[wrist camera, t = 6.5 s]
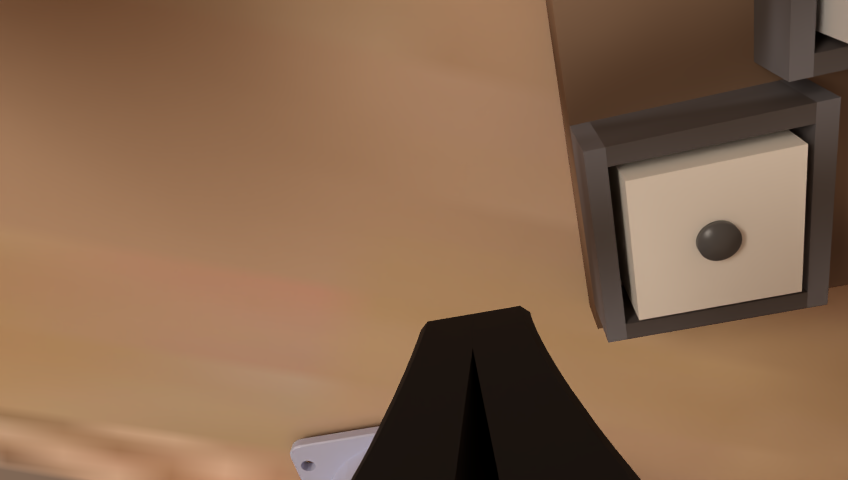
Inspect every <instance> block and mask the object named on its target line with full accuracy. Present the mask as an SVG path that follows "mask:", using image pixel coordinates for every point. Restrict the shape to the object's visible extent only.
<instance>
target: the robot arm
mask: <svg viewBox="0 0 848 480" xmlns="http://www.w3.org/2000/svg"><path fill="white" fill-rule="evenodd" d="M290 456H291V459H292V461H293V463H294V465H295V467H296V469H297V472H298V474H299V476H300V478H301V480H641V479H640V478H639V477H638V476H637V474H636V473H635V472H634V471H633V470H632V468H631V467H630V466H629V465H628V464H627V462H626V461H625V460H624V459H623V457H622V456H621V455H620V454H619V453H618V451H617V450H616V449H615V448H614V446H613V445H612V444H611V443H610V441H609V440H608V439H607V437H606V436H605V435H604V434H603V432H602V431H601V430H600V428H599V427H598V426H597V424H596V423H595V422H594V420H593V419H592V417H591V416H590V415H589V413H588V412H587V410H586V409H585V408H584V406H583V405H582V403H581V402H580V401H579V399H578V398H577V396H576V395H575V394H574V392H573V391H572V390H571V388H570V387H569V385H568V384H567V382H566V380H565V379H564V377H563V376H562V374H561V373H560V371H559V370H558V368H557V366H556V365H555V363H554V361H553V360H552V358H551V356H550V355H549V353H548V351H547V349H546V348H545V346H544V344H543V342H542V340H541V338H540V336H539V334H538V332H537V330H536V328H535V325H534V323H533V320H532V318H531V314H530V312H529V311H527V310H526V309H524V308H523V307H521V306H517V307H511V308H505V309H499V310H493V311H487V312H482V313H476V314H470V315H464V316H458V317H452V318H446V319H440V320H435V321H429V322H427V323H426V324H425V326H424V327H423V328H422V330H421V332H420V335H419V337H418V340H417V343H416V345H415V348H414V351H413V353H412V356H411V358H410V361H409V363H408V365H407V368H406V370H405V372H404V375H403V377H402V379H401V381H400V384H399V386H398V388H397V390H396V393H395V395H394V397H393V399H392V401H391V403H390V405H389V407H388V410H387V412H386V414H385V416H384V418H383V420H382V422H381V424H380V426H377V427H371V428H365V429H359V430H352V431H346V432H340V433H334V434H328V435H322V436H316V437H310V438H304V439H300V440H297V441H295V442H294V443H293V445H292V448H291V452H290ZM306 461H311V462H313V463H310V462H306Z"/></svg>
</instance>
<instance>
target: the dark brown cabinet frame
mask: <svg viewBox="0 0 848 480" xmlns="http://www.w3.org/2000/svg"><path fill="white" fill-rule="evenodd" d="M546 5H547V12H548V19H549V26H550V33H551V40H552V47H553V54H554V61H555V68H556V75H557V81H558V88H559V95H560V102H561V109H562V116H563V123H564V130H565V137H566V144H567V151H568V158H569V165H570V172H571V179H572V185H573V192H574V199H575V206H576V213H577V220H578V227H579V234H580V241H581V248H582V255H583V262H584V269H585V276H586V282H587V289H588V296H589V303H590V308H591V310H592V313H593V316H594V319H595V322H596V325H597V327H598V329H599V328H603V329H604V332H605V334H606V337H607V340H608V342H614V341H620V340H626V339H631V338H637V337H643V336H649V335H654V334H660V333H666V332H672V331H677V330H683V329H689V328H695V327H700V326H706V325H712V324H718V323H723V322H729V321H735V320H741V319H746V318H752V317H758V316H764V315H769V314H775V313H781V312H787V311H792V310H798V309H804V308H810V307H815V306H821V305H827V302H828V288H830V287H836V286H842V285H847V284H848V43H845V42H843V41H840V40H838V39H835V38H833V37H830V36H828V35H825V34H823V33H820V32H818V31H815V30H816V8H817V0H546ZM783 130H789V131H791V132H792V133H794V134H795V135H796V136H798V137H799V138H801V139H802V140H803V141H805V142H806V143H808V157H807V180H806V204H805V227H804V251H803V275H802V292H796V293H790V294H785V295H779V296H773V297H768V298H762V299H756V300H751V301H745V302H740V303H734V304H728V305H723V306H717V307H711V308H706V309H700V310H694V311H689V312H683V313H677V314H672V315H666V316H661V317H655V318H649V319H644V320H639V319H638V316H637V314H636V312H635V310H634V307H633V305H632V303H631V301H630V299H629V296H628V294H627V292H626V290H625V288H624V285H623V283H622V281H621V279H620V270H619V262H618V253H617V244H616V235H615V227H614V218H613V209H612V201H611V192H610V183H609V174H608V167H611V166H615V165H620V164H625V163H630V162H635V161H639V160H644V159H649V158H654V157H658V156H663V155H668V154H673V153H678V152H682V151H687V150H692V149H697V148H702V147H706V146H711V145H716V144H721V143H726V142H730V141H735V140H740V139H745V138H750V137H754V136H759V135H764V134H769V133H773V132H778V131H783Z"/></svg>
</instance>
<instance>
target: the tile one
mask: <svg viewBox="0 0 848 480" xmlns="http://www.w3.org/2000/svg"><path fill="white" fill-rule="evenodd" d="M807 157H808V143H806V142H805V141H803V140H802V139H801V138H799V137H798V136H796V135H795V134H794V133H792V132H791V131H789V130H783V131H778V132H773V133H769V134H764V135H759V136H754V137H750V138H745V139H740V140H735V141H730V142H726V143H721V144H716V145H711V146H706V147H702V148H697V149H692V150H687V151H682V152H678V153H673V154H668V155H663V156H658V157H654V158H649V159H644V160H639V161H635V162H630V163H625V164H620V165H615V166H611V167H608V174H609V183H610V192H611V201H612V209H613V218H614V227H615V235H616V244H617V253H618V262H619V270H620V279H621V281H622V283H623V285H624V288H625V290H626V292H627V294H628V296H629V299H630V301H631V303H632V305H633V307H634V310H635V312H636V314H637V316H638V319H639V320H644V319H649V318H655V317H661V316H666V315H672V314H677V313H683V312H689V311H694V310H700V309H706V308H711V307H717V306H723V305H728V304H734V303H740V302H745V301H751V300H756V299H762V298H768V297H773V296H779V295H785V294H790V293H796V292H802V275H803V251H804V227H805V204H806V180H807Z"/></svg>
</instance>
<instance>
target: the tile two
mask: <svg viewBox="0 0 848 480" xmlns="http://www.w3.org/2000/svg"><path fill="white" fill-rule="evenodd" d="M815 31H818V32H820V33H823V34H825V35H828V36H830V37H833V38H835V39H838V40H840V41H843V42H845V43H848V0H817V8H816V30H815Z"/></svg>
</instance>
